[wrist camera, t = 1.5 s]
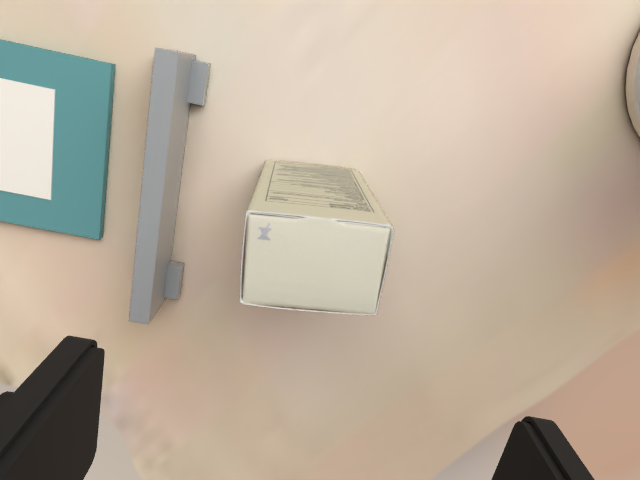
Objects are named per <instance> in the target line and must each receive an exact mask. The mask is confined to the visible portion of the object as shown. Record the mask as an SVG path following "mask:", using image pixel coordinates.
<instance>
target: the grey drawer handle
mask: <svg viewBox="0 0 640 480" xmlns="http://www.w3.org/2000/svg"><path fill="white" fill-rule="evenodd" d="M195 59H196V55H193V54H188V53H184V52H179V51H175V50H168V49H161V48H155V53H154V64H153V74H152V85H151V95H150V105H149V116H148V126H147V137H146V147H145V157H144V168H143V178H142V188H141V199H140V209H139V220H138V230H137V240H136V251H135V261H134V272H133V282H132V292H131V303H130V313H129V321H131V322H137V323H143V324H149V323H150V321H151V320H152V318H153V317H154V315H155V314H156V312H157V310H158V309H159V307H160V306H161V304H162V303H163V301H164V300H165V298H169V299H175V300H177V299H178V298H179V296H180V292H181V285H182V277H183V269H184V263H180V262H175V261H171V256H172V248H173V240H174V232H175V224H176V215H177V207H178V199H179V191H180V183H181V174H182V166H183V158H184V150H185V141H186V133H187V125H188V117H189V109H190V103H192V104H197V105H202V106H203V105H205V102H206V94H207V87H208V79H209V71H210V64H209V63H205V62H200V61H196V60H195Z"/></svg>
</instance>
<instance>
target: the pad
mask: <svg viewBox="0 0 640 480" xmlns="http://www.w3.org/2000/svg"><path fill="white" fill-rule="evenodd" d="M114 75H115V64H111V63H106V62H102V61H97V60H92V59H88V58H83V57H79V56H74V55H69V54H65V53H60V52H56V51H51V50H46V49H42V48H37V47H33V46H28V45H23V44H19V43H14V42H10V41H5V40H0V221H2V222H8V223H13V224H18V225H23V226H29V227H34V228H39V229H45V230H50V231H55V232H61V233H66V234H71V235H77V236H82V237H87V238H93V239H98V240H99V239H101V238H102V237H103V226H104V213H105V199H106V185H107V171H108V158H109V144H110V130H111V116H112V103H113V89H114Z"/></svg>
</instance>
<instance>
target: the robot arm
mask: <svg viewBox="0 0 640 480" xmlns="http://www.w3.org/2000/svg"><path fill="white" fill-rule="evenodd" d="M626 98H627V107H628V112H629V115H630V118H631V121H632V124H633V127H634V129H635V130H636V132H637V134H638V135H639V137H640V32H639V35H638V37H637V39H636V41H635V44H634V46H633V48H632V52H631V56H630V60H629V64H628V68H627V78H626ZM103 366H104V349H102V348H97V342H96V341H95V340H91V339H85V338H80V337H74V336H67V337H65V338H64V339H63V340H62V341H61V342H60V344H59V345H58V346H57V347H56V348H55V349H54V350H53V351H52V352H51V353H50V354H49V355H48V356H47V358H46V359H45V360H44V361H43V362H42V363H41V364H40V365H39V366H38V367H37V368H36V369H35V370H34V371H33V373H32V374H31V375H30V376H29V377H28V378H27V379H26V380H25V381H24V382H23V383H22V384H21V385H20V387H19V388H18V389H17V390H16V391H15V392H8V391H7V392H5V393H2V394H1V395H0V480H83V479H84V477H85V475H86V473H87V472H88V470H89V468H90V466H91V464H92V462H93V459H94V456H95V452H96V448H97V437H98V425H99V413H100V401H101V390H102V378H103ZM492 480H594V478H593V477H592V475H591V474H590V473H589V471H588V470H587V468H586V467H585V465H584V464H583V462H582V461H581V460H580V458H579V457H578V455H577V454H576V452H575V451H574V450H573V448H572V446H571V445H570V444H569V442H568V441H567V439H566V438H565V436H564V435H563V433H562V432H561V431H560V429H559V428H558V426H557V425H556V424H555V423H554V422H553V421H551V420H546V419H541V418H535V417H529V416H528V417H525V418H524V419H523V420H522V421H521V422H520V421H519V422H517V423H516V424H515V425H514V427H513V430H512V432H511V434H510V437H509V439H508V442H507V444H506V446H505V449H504V452H503V454H502V456H501V458H500V461H499V463H498V466H497V468H496V470H495V473H494V475H493V478H492Z"/></svg>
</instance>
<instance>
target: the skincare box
mask: <svg viewBox="0 0 640 480" xmlns="http://www.w3.org/2000/svg"><path fill="white" fill-rule="evenodd" d="M393 234H394V228H393V226H392V225H391V223H390V221H389V220H388V218H387V216H386V215H385V213H384V212H383V210H382V208H381V207H380V205H379V203H378V202H377V200H376V199H375V197H374V195H373V193H372V192H371V190H370V189H369V187H368V185H367V184H366V182H365V180H364V179H363V177H362V175H361V174H360V172H359V171H358V170H355V169H349V168H342V167H335V166H327V165H318V164H309V163H299V162H288V161H274V160H266V161H265V163H264V166H263V169H262V171H261V174H260V176H259V179H258V182H257V184H256V187H255V190H254V193H253V196H252V198H251V201H250V204H249V206H248V208H247V211H246V215H245V225H244V235H243V246H242V257H241V272H240V298H239V299H240V302H241V303H242V304H246V305H253V306H260V307H267V308H276V309H285V310H296V311H308V312H321V313H335V314H351V315H370V316H374V315H376V314H377V312H378V307H379V302H380V298H381V293H382V289H383V285H384V280H385V275H386V270H387V266H388V261H389V256H390V251H391V245H392V240H393Z"/></svg>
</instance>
